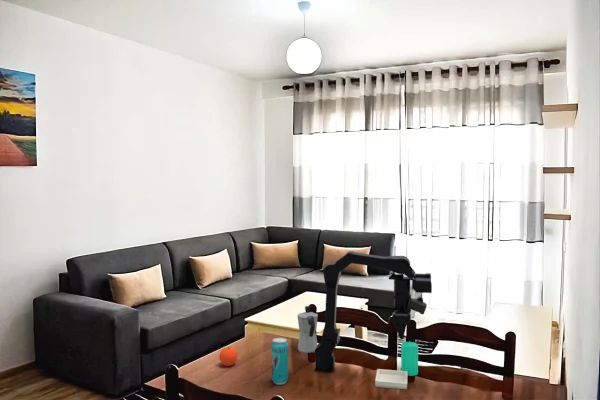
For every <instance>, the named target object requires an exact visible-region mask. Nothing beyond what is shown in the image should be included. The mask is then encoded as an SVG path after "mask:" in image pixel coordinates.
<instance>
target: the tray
mask: <svg viewBox="0 0 600 400" xmlns="http://www.w3.org/2000/svg"><path fill="white" fill-rule="evenodd" d="M408 379H409V378H408V371H401V370H394V369H393V370H392V369H384V368H383V369H382V368H381V369H380V368H377V369H376V373H375V380H374V383H375V385H374V387H375V388H385V389H386V388H387V389H396V390H397V389H398V390H408Z"/></svg>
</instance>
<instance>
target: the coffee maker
mask: <svg viewBox="0 0 600 400" xmlns="http://www.w3.org/2000/svg"><path fill="white" fill-rule="evenodd" d="M304 310H305V312H300V313H298V314H297V324H298V330H299V337H298V338H299V339H298V344H297V350H298V352H300V353H305V354H308V353H309V354H311V353H315V349H316V347H317V345H318V344H319V343H318V339H317V334H316V330H317V326H318V316H319V314H318V313H315V312H313V311H310V310H311V306H309V305H306V306H304Z"/></svg>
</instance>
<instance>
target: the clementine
mask: <svg viewBox="0 0 600 400" xmlns="http://www.w3.org/2000/svg"><path fill="white" fill-rule="evenodd" d="M221 349H222V350H221V351H219V355H218V356H219V361H220V363H221V364H222V365H224V366H226V367H227V366H232V365H234V364H235V363H236V362H237V360H238V357H239V356H238V352H237V350H236V348H234V347H233V346H223V347H221Z"/></svg>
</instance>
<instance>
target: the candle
mask: <svg viewBox="0 0 600 400" xmlns="http://www.w3.org/2000/svg"><path fill="white" fill-rule="evenodd" d="M400 345H401V348H400V350H401V352H400V353H401V355H400V356H401V359H400V364H401V365H400V369H401V370H400V371H408V376H410V377H414V376H417V375H418V374H419V345H418V344H417V343H416V342H414V341H413V342H412V341H403V342H401V344H400Z"/></svg>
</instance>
